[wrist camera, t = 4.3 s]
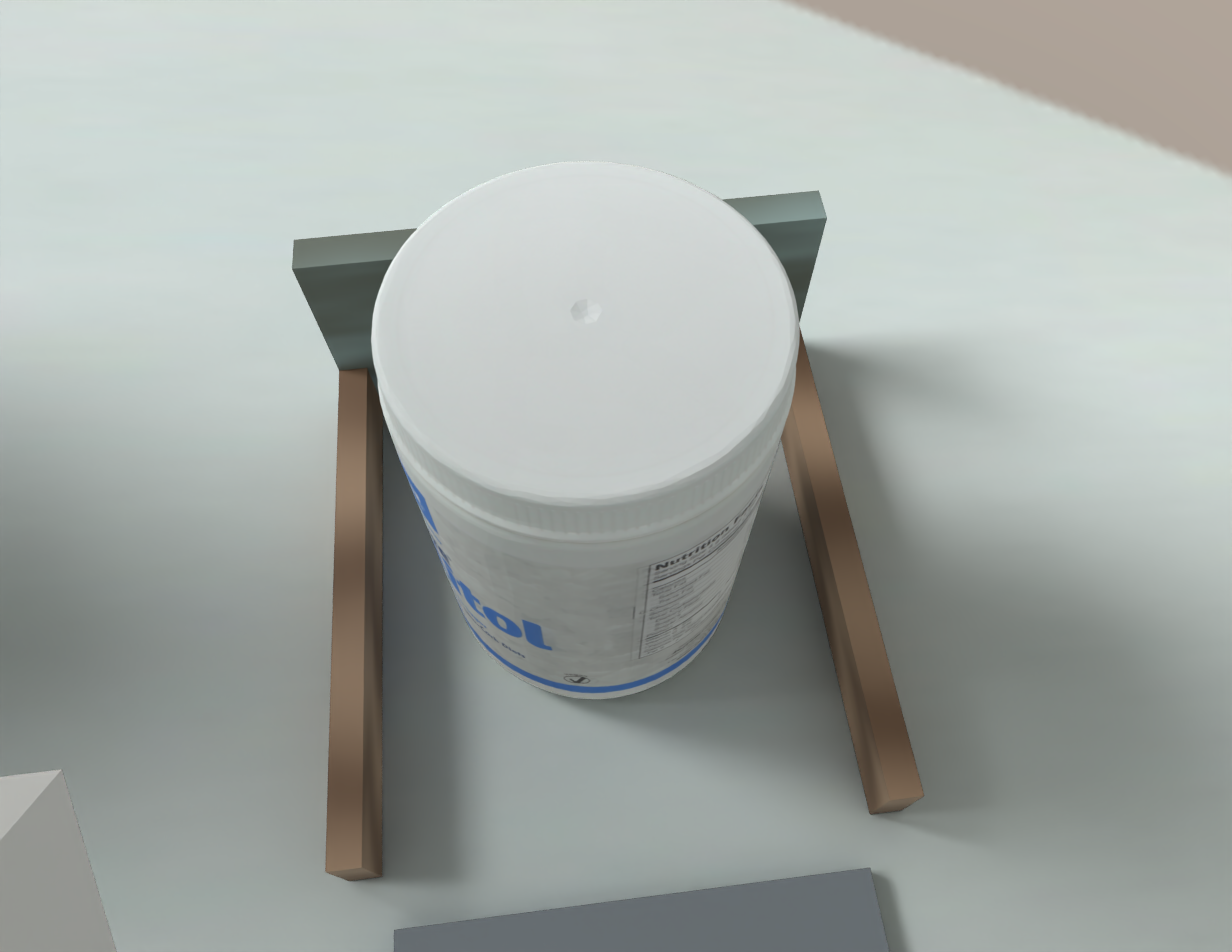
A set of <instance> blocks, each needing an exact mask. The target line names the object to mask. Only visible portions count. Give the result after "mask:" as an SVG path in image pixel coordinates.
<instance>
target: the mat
mask: <svg viewBox="0 0 1232 952" xmlns="http://www.w3.org/2000/svg"><path fill="white" fill-rule="evenodd" d="M394 952H889V947H888V943H887V939H886V934H885V930H884V926H883V921H882V917H881V913H880V908H879V904H878V900H877V895H876V891H875V887H874V882H873V878H872V874H871V869H870V868H864V869H856V870H849V871H841V872H833V873H826V874H818V875H810V876H803V877H795V878H787V879H780V880H772V881H764V882H757V883H749V884H741V885H734V886H726V887H718V888H711V889H703V890H696V891H688V892H680V893H673V894H665V895H657V896H650V897H642V898H634V899H627V900H619V901H611V902H604V903H596V904H588V905H581V906H573V907H565V908H558V909H550V910H542V911H535V912H527V913H520V914H512V915H504V916H497V917H489V918H481V919H474V920H466V921H458V922H451V923H443V924H435V925H428V926H420V927H412V928H405V929H397V930H394Z"/></svg>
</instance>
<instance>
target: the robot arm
mask: <svg viewBox="0 0 1232 952" xmlns="http://www.w3.org/2000/svg"><path fill="white" fill-rule="evenodd" d="M0 952H116V948H115V945H114V942H113V938H112V935H111V932H110V928H109V925H108V922H107V918H106V915H105V912H104V908H103V905H102V901H101V898H100V895H99V891H98V888H97V885H96V881H95V878H94V875H93V871H92V868H91V865H90V861H89V858H88V855H87V851H86V848H85V845H84V841H83V838H82V835H81V831H80V828H79V825H78V821H77V818H76V815H75V811H74V808H73V804H72V801H71V798H70V794H69V791H68V788H67V784H66V781H65V778H64V774H63V771H62V769H60V770H52V771H43V772H35V773H27V774H19V775H11V776H2V777H0Z"/></svg>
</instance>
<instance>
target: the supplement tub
mask: <svg viewBox="0 0 1232 952" xmlns="http://www.w3.org/2000/svg"><path fill="white" fill-rule="evenodd" d="M799 337H800V330H799V317H798V311H797V304H796V299H795V295H794V292H793V288H792V286H791V283H790V281H789V278H788V276H787V274H786V271H785V269H784V267H783V265H782V264H781V262H780V260H779V258H778V257H777V255H776V253H775V252H774V250H773V249H772V247H771V246H770V245H769V243H768V242H767V240H766V239H765V238H764V237H763V236H762V235H761V233H760V232H759V231H758V230H757V229H756V228H755V227H754V226H753V225H752V224H751V223H750V222H749V221H748V220H747V219H746V218H745V217H744V216H743V215H741V214H740V213H739V212H738V211H736V210H735V209H734V208H733V207H731V206H730V205H729V204H727V203H726V202H724V201H723V200H721V199H720V198H719V197H717V196H715V195H713V194H712V193H710V192H708V191H706V190H704V189H702V188H700V187H698V186H696V185H694V184H692V183H690V182H688V181H686V180H683V179H681V178H678V177H675V176H672V175H670V174H667V173H664V172H660V171H656V170H653V169H649V168H645V167H641V166H635V165H629V164H621V163H613V162H603V161H576V162H560V163H551V164H545V165H540V166H535V167H530V168H525V169H521V170H518V171H514V172H511V173H507V174H504V175H501V176H499V177H497V178H494V179H492V180H490V181H487V182H485V183H483V184H480V185H478V186H476V187H474V188H472V189H470V190H468V191H466V192H465V193H463V194H461V195H460V196H458V197H456V198H455V199H453V200H451V201H450V202H448V203H447V204H445V205H444V206H443V207H441V208H440V209H439V210H438V211H436V212H435V213H434V214H432V215H431V216H430V217H429V218H428V219H427V220H426V221H424V222H423V223H422V224H421V225H420V226H419V227H418V228H417V229H416V231H415V232H414V233H413V234H412V235H411V236H410V237H409V238H408V240H407V241H406V242H405V243H404V244H403V246H402V247H401V248H400V250H399V252H398V253H397V255H396V256H395V258H394V259H393V261H392V262H391V264H390V266H389V268H388V270H387V272H386V274H385V276H384V279H383V282H382V284H381V287H380V290H379V292H378V296H377V299H376V302H375V307H374V312H373V320H372V335H371V345H372V356H373V362H374V367H375V371H376V375H377V379H378V390H379V397H380V403H381V407H382V410H383V414H384V417H385V420H386V423H387V426H388V429H389V432H390V435H391V437H392V440H393V443H394V445H395V448H396V451H397V454H398V457H399V459H400V462H401V464H402V467H403V469H404V472H405V474H406V476H407V479H408V481H409V484H410V487H411V489H412V491H413V494H414V496H415V499H416V501H417V504H418V506H419V508H420V511H421V513H422V516H423V518H424V521H425V524H426V526H427V529H428V531H429V533H430V536H431V538H432V541H433V543H434V545H435V548H436V550H437V553H438V555H439V558H440V560H441V563H442V565H443V568H444V570H445V573H446V575H447V578H448V580H449V582H450V585H451V587H452V590H453V592H454V594H455V597H456V599H457V602H458V604H459V607H460V609H461V611H462V613H463V615H464V618H465V620H466V622H467V624H468V626H469V628H470V630H471V632H472V633H473V635H474V637H475V638H476V640H477V641H478V643H479V644H480V645H481V646H482V648H483V649H484V650H485V651H486V652H487V653H488V655H489V656H490V657H491V658H493V659H494V660H495V661H496V662H497V663H498V664H499V665H500V666H502V667H503V668H504V669H506V670H507V671H508V672H510V673H511V674H513V675H514V676H516V677H518V678H519V679H521V680H523V681H525V682H527V683H529V684H531V685H533V686H535V687H538V688H540V689H543V690H546V691H548V692H552V693H555V694H558V695H562V696H567V697H572V698H580V699H608V698H616V697H621V696H626V695H630V694H634V693H638V692H641V691H643V690H646V689H649V688H651V687H653V686H655V685H657V684H660V683H661V682H663V681H665V680H667V679H669V678H670V677H672V676H674V675H675V674H676V673H678V672H679V671H680V670H682V669H683V668H685V667H686V666H687V665H688V664H689V663H690V662H691V661H693V660H694V658H695V657H696V656H697V655H698V654H699V653H700V652H701V651H702V650H703V648H704V647H705V646H706V644H707V643H708V642H709V640H710V639H711V637H712V636H713V634H714V633H715V631H716V629H717V627H718V625H719V623H720V621H721V619H722V616H723V614H724V611H725V608H726V605H727V602H728V599H729V596H730V593H731V590H732V587H733V584H734V581H735V578H736V575H737V572H738V569H739V566H740V563H741V560H742V556H743V553H744V550H745V547H746V544H747V542H748V539H749V535H750V532H751V529H752V526H753V523H754V520H755V517H756V514H757V511H758V508H759V504H760V501H761V498H762V495H763V492H764V489H765V486H766V483H767V480H768V477H769V474H770V471H771V468H772V465H773V462H774V459H775V456H776V453H777V449H778V446H779V442H780V439H781V435H782V432H783V429H784V426H785V423H786V419H787V417H788V414H789V410H790V407H791V403H792V398H793V394H794V388H795V379H796V363H797V357H798V349H799Z"/></svg>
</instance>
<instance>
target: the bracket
mask: <svg viewBox="0 0 1232 952" xmlns="http://www.w3.org/2000/svg"><path fill="white" fill-rule="evenodd" d="M723 201H724V202H726V203H727V204H729V205H730V206H731V207H733V208H734V209H735V210H736V211H738V212H739V213H740V214H741V215H743V216H744V217H745V218H746V219H747V220H748V221H749V222H750V223H751V224H752V225H753V226H754V227H755V228H756V229H757V230H758V231H759V232H760V233H761V235H762V236H763V237H764V238H765V239H766V240H767V242H768V243H769V245H770V246H771V247H772V249H773V250H774V252H775V253H776V255H777V257H778V258H779V260H780V262H781V264H782V265H783V267H784V269H785V271H786V274H787V276H788V278H789V281H790V283H791V286H792V288H793V292H794V295H795V299H796V304H797V311H798V317H799V322H800V318H801V315H802V311H803V307H804V303H805V299H806V296H807V292H808V288H809V284H810V280H811V277H812V273H813V269H814V265H815V261H816V258H817V254H818V250H819V246H820V242H821V239H822V235H823V231H824V227H825V224H826V220H827V216H826V213H825V210H824V206H823V203H822V200H821V196H820V193H819V191H810V192H799V193H788V194H778V195H767V196H756V197H746V198H735V199H725V200H723ZM416 229H417V228H416ZM416 229H405V230H395V231H384V232H374V233H363V234H352V235H342V236H331V237H320V238H310V239H299V240H294V247H293V263H292V270H293V272H294V274H295V276H296V278H297V280H298V283H299V285H300V287H301V289H302V291H303V293H304V295H305V298H306V300H307V302H308V304H309V306H310V308H311V311H312V313H313V315H314V317H315V319H316V321H317V323H318V326H319V328H320V330H321V332H322V334H323V336H324V339H325V341H326V343H327V345H328V347H329V349H330V351H331V354H332V356H333V358H334V360H335V362H336V364H337V367H338V369H339V402H338V438H337V474H336V509H335V545H334V581H333V617H332V653H331V689H330V725H329V760H328V796H327V832H326V868H325V872H326V873H329V874H332V875H334V876H337V877H340V878H342V879H345V880H347V881H353V880H360V879H368V878H376V877H382V539H383V410H382V407H381V403H380V397H379V390H378V379H377V375H376V371H375V367H374V362H373V356H372V345H371V335H372V320H373V312H374V307H375V302H376V299H377V296H378V292H379V290H380V287H381V284H382V282H383V279H384V276H385V274H386V272H387V270H388V268H389V266H390V264H391V262H392V261H393V259H394V258H395V256H396V255H397V253H398V252H399V250H400V248H401V247H402V246H403V244H404V243H405V242H406V241H407V240H408V238H409V237H410V236H411V235H412V234H413V233H414V232H415V231H416ZM799 330H800V326H799ZM781 441H782V445H783V449H784V453H785V458H786V462H787V466H788V470H789V475H790V479H791V483H792V487H793V492H794V496H795V500H796V504H797V508H798V513H799V517H800V521H801V525H802V530H803V534H804V538H805V542H806V546H807V551H808V555H809V559H810V563H811V568H812V572H813V576H814V580H815V584H816V589H817V593H818V597H819V601H820V606H821V610H822V614H823V618H824V623H825V627H826V631H827V635H828V639H829V644H830V648H831V652H832V656H833V661H834V665H835V669H836V673H837V677H838V682H839V686H840V690H841V694H842V699H843V703H844V707H845V711H846V715H847V720H848V724H849V728H850V732H851V737H852V741H853V745H854V749H855V754H856V758H857V762H858V766H859V770H860V775H861V779H862V783H863V787H864V792H865V796H866V800H867V804H868V808H869V813H870V814H877V813H885V812H892V811H900V810H903V809H904V808H906V807H908V806H909V805H911V804H912V803H914V802H916V801H917V800H919V799H920V798H922V797H923V796H924V793H923V789H922V786H921V782H920V778H919V774H918V771H917V767H916V763H915V759H914V756H913V752H912V748H911V744H910V740H909V737H908V733H907V729H906V725H905V722H904V718H903V714H902V710H901V707H900V703H899V699H898V695H897V692H896V688H895V684H894V680H893V676H892V673H891V669H890V665H889V661H888V658H887V654H886V650H885V646H884V643H883V639H882V635H881V631H880V627H879V624H878V620H877V616H876V612H875V609H874V605H873V601H872V597H871V594H870V590H869V586H868V582H867V579H866V575H865V571H864V567H863V563H862V560H861V556H860V552H859V548H858V545H857V541H856V537H855V533H854V530H853V526H852V522H851V518H850V514H849V511H848V507H847V503H846V499H845V496H844V492H843V488H842V484H841V481H840V477H839V473H838V469H837V466H836V462H835V458H834V454H833V450H832V447H831V443H830V439H829V435H828V432H827V428H826V424H825V420H824V417H823V413H822V409H821V405H820V401H819V398H818V394H817V390H816V386H815V383H814V379H813V375H812V371H811V368H810V364H809V360H808V356H807V353H806V349H805V345H804V341H803V337H802V334H801V330H800V337H799V349H798V357H797V363H796V379H795V388H794V394H793V398H792V403H791V407H790V410H789V414H788V417H787V419H786V423H785V426H784V429H783V432H782V435H781Z"/></svg>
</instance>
